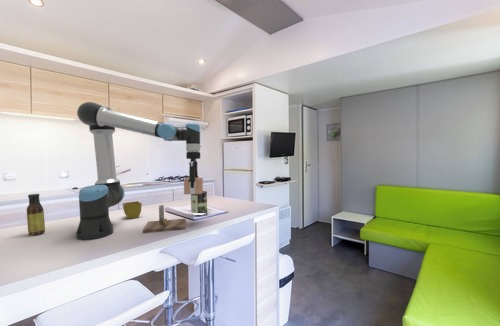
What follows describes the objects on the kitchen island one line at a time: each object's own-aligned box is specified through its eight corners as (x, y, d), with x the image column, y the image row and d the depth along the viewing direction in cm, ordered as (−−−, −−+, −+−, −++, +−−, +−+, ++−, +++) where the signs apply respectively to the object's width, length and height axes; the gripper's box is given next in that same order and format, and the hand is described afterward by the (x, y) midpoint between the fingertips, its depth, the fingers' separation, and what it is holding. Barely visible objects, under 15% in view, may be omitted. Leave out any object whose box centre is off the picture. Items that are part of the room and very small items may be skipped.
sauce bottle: (48, 232, 118) (46, 193, 118) (34, 236, 112) (32, 195, 111) (38, 231, 120) (37, 192, 119) (24, 235, 114) (22, 194, 113)
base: (142, 232, 116) (141, 209, 115) (148, 224, 130) (147, 203, 130) (184, 229, 120) (184, 206, 120) (185, 221, 135) (185, 201, 134)
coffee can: (208, 211, 156) (208, 190, 156) (205, 215, 146) (205, 193, 146) (193, 212, 157) (192, 190, 156) (189, 216, 146) (188, 193, 146)
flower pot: (122, 217, 145) (122, 203, 145) (137, 214, 151) (137, 200, 151) (126, 220, 139) (126, 205, 138) (142, 217, 144) (142, 202, 144)
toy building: (184, 194, 126) (183, 179, 125) (186, 191, 134) (186, 177, 134) (201, 193, 126) (201, 179, 126) (202, 191, 135) (202, 177, 135)
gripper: (197, 151, 119) (198, 195, 120) (202, 151, 141) (202, 189, 142) (182, 151, 118) (183, 195, 119) (189, 151, 140) (190, 189, 141)
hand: (193, 192), depth 130 cm, fingers closed on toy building, 9 cm apart
